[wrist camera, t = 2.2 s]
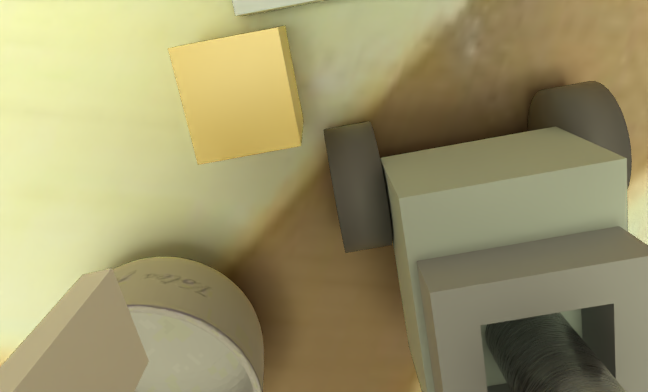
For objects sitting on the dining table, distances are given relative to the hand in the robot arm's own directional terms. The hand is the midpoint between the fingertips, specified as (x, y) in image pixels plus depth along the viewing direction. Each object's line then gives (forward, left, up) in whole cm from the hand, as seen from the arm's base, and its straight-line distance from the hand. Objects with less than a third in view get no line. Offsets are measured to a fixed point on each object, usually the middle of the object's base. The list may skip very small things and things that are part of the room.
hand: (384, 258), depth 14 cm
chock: (-4, +3, -16) cm, 17 cm away
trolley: (+5, -6, -16) cm, 18 cm away
